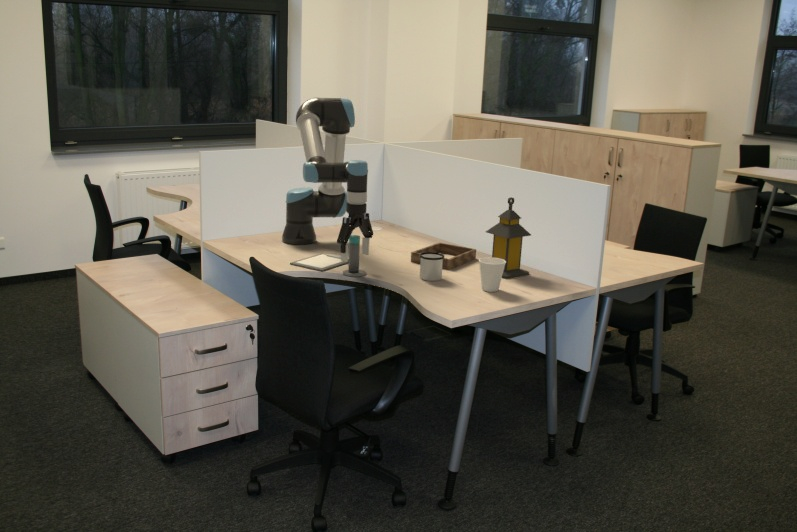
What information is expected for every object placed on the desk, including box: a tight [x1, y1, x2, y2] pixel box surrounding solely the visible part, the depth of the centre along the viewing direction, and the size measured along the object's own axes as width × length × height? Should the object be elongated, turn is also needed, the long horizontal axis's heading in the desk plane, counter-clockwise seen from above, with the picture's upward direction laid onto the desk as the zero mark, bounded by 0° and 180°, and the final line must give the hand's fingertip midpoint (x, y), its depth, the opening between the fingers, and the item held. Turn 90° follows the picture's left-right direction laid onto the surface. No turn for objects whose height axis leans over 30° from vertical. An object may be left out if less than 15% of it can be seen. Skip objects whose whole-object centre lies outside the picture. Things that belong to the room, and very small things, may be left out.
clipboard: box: [289, 253, 349, 272], centre depth 298 cm, size 20×16×1 cm
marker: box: [347, 234, 361, 273], centre depth 283 cm, size 4×4×14 cm
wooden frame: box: [410, 242, 477, 270], centre depth 310 cm, size 23×18×4 cm
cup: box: [478, 256, 506, 293], centre depth 270 cm, size 10×10×11 cm
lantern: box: [485, 197, 532, 280], centre depth 292 cm, size 14×14×30 cm
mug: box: [419, 252, 445, 282], centre depth 283 cm, size 12×10×9 cm
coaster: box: [342, 269, 367, 278], centre depth 285 cm, size 9×9×1 cm
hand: (355, 257), depth 283 cm, fingers open, 13 cm apart
